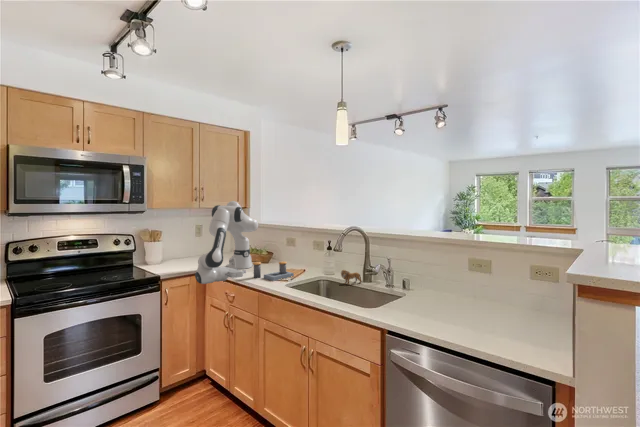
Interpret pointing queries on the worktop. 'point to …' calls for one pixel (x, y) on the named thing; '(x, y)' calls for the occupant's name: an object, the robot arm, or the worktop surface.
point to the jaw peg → (257, 269)
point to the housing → (277, 276)
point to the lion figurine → (350, 276)
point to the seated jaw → (282, 267)
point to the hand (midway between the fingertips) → (241, 270)
